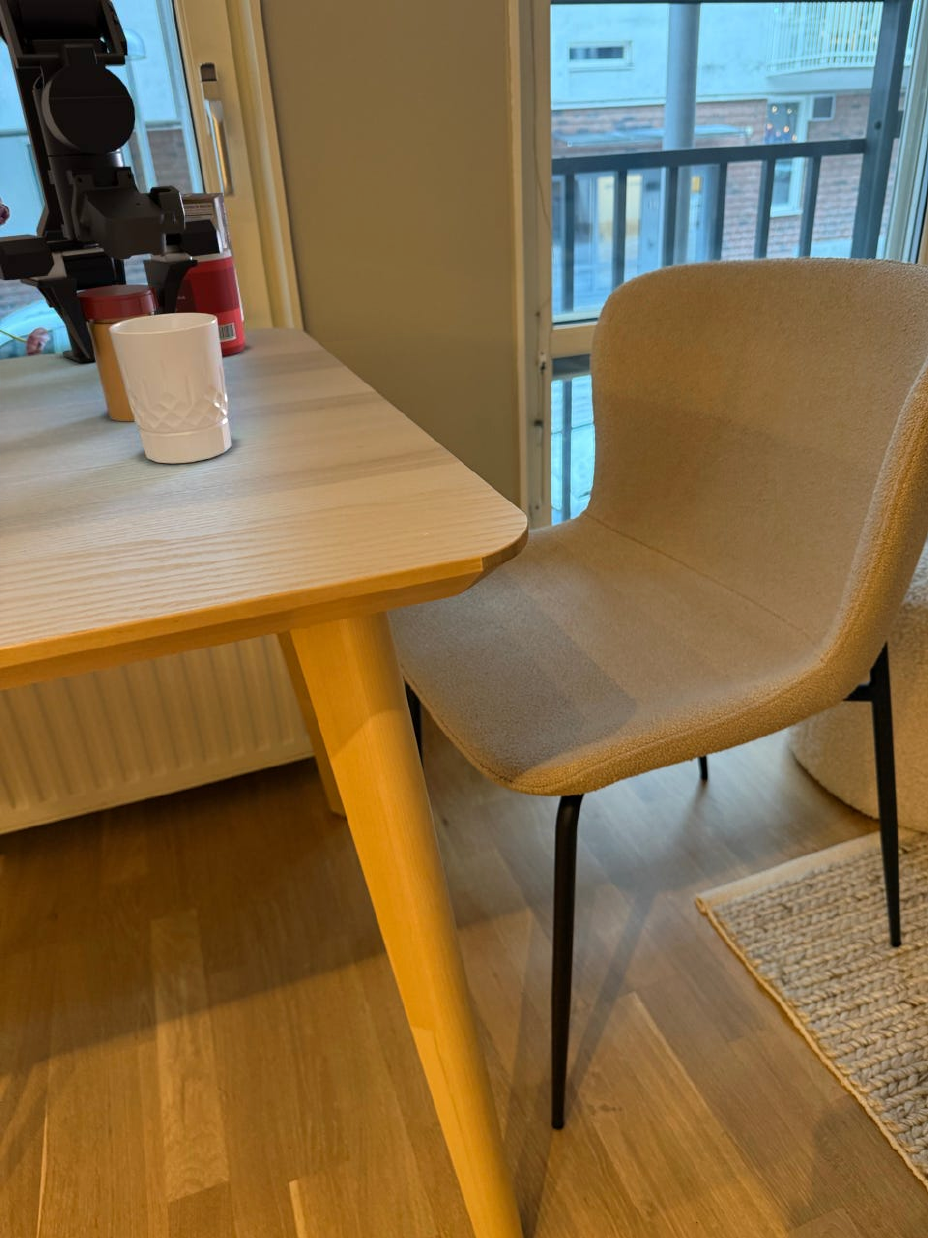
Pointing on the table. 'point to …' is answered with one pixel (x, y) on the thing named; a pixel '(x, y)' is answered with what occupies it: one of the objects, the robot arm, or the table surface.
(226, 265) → the canned food
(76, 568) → the table surface
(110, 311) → the lid
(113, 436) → the table surface
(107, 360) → the jar
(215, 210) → the coffee box
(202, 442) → the white cup
